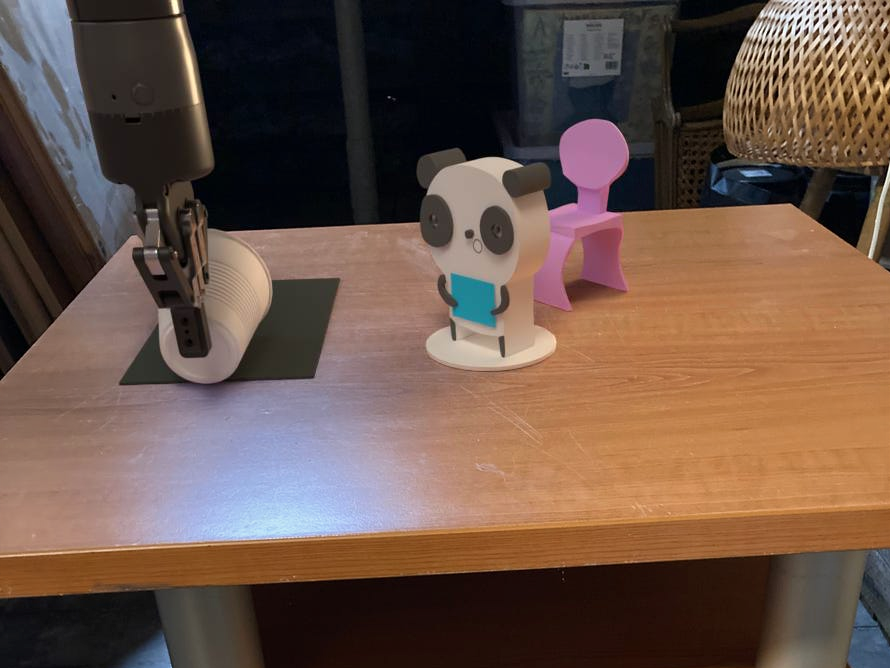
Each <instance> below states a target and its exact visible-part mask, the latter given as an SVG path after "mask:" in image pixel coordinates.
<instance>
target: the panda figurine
mask: <svg viewBox="0 0 890 668" xmlns="http://www.w3.org/2000/svg"><path fill="white" fill-rule="evenodd" d="M416 178H417V181H418V183H419V185H420V186H421V187H422V188H423V189H427V191H426V192H427V193H426V195H425V196H424V197H423V198H422V202H421V206H420V211H419V212H420V213H419V227H420V228H419V229H420V234H421V237H422V239H423V241H424V242H425V243H426V244H427V248H428V250H429V252H430V254H431V256H432V258H433V260H434V262H435V264H436V266H437V267H438V268H439V270H440V271H441V273H443V274H440V275H439V277H438V279H437V282H436V283H437V285H436V286H437V290H438V293H439V295H440V297H441V299H442V300H443V302H444V303H445V304H446V305H448V313H449V325H448V326H445V327H443V328H441V329H438V330H436V331H434V332H433V333H432V334H431V335H430V336H429V337H428V338H427V339H426V342H425V351H426V354H427V356H429V357H430V358H431V359H432V360H433V361H435V362H437V363H439V364H441V365H444V366H447V367H450V368H453V369H458V370H466V371H475V372H499V371H510V370H516V369H517V370H518V369H521V368H526V367H530V366H533V365H536V364H538V363H540V362H543V361H545V360H547V359H548V358H549V357H551V356H552V355H553V354H554V353H555V352H556V349H557V338H556V337H555V335H554V333H552V332H551V331H550V330H548V329H546V328H545V327H543V326H539V325H537V324H535V319H534V318H535V316H534V315H535V314H534V309H535V308H534V307H535V306H534V302H535V300H534V274H535V273H536V272H538V271H539V269H540V268H541V267H542V265H543V263H544V261H545V259H546V257H547V253H548V250H549V245H550V220H549V213H548V211H549V209H548V204H547V199H546V196H545V193H544V190H548V189H550V187H551V185H552V175H551V170H550V168H549V166H548V165H547V164H546V163H545V162H542V161H539V162H534V163H530V164H527V165H522V164H521V163H519V162H516V161H514V160H511V159H507V158H504V157H498V156H487V157H481V158H477V159H473V160H469V161H467V159H466V155H465V154H464V153H463V151H462V150H461V149H460V148H459V147H455V148H450V149H445V150H441V151H437V152H433V153H429V154H424V155H423V156H420V158H419V159H418V161H417V165H416Z"/></svg>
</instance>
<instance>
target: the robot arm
mask: <svg viewBox="0 0 890 668" xmlns="http://www.w3.org/2000/svg"><path fill="white" fill-rule="evenodd" d="M65 4H66V8H67V13H68V18H69V19H70V26H71V32H72V40H73V49H74V50H73V51H74V59H75V64H76V70H77V74H78V78H79V82H80V86H81V91H82V95H83V99H84V104H85V108H86V111H87V115H88V121H89V124H90V128H91V133H92V137H93V141H94V147H95V150H96V155H97V158H98V163H99V167H100V171H101V174H102V177H104V179H105V180H107V182H110V183H112V184H116V185H120V186H121V185H126V186H128V187H130V189H132V190H133V193H134V203H135V210H133V211H132V221H133V225H134V229H135V233H136V236H137V237H138V239H139V240H140V241H141V243H142V246H136V247H135V246H134V247H133V248H132V252H131V258H132V261H133V264H134V266H135V268H136V269H137V271H138V273H139V275H140V277H141V278H142V281H143V282H144V284H145V286H146V288H147V289H148V292H149V294H150V295H151V297H152V299H153V301H154V302H155V304H156V306H157V309H158V308H159V309H164V308H166V309H170V312H171V317H172V321H173V326H174V331H175V335H176V340H177V345H178V349H179V353H180V355H181V356H182V357H184V358H204V357H206V356H207V355H208V354H209V352H210V350H211V348H212V342H211V337H210V332H209V326H208V321H207V316H206V311H205V306H204V302H202V301H205V300H206V295H207V292H206V289H205V285H207V284H209V279H210V276H209V266H208V233H207V229H208V217H209V213H208V210H207V208H206V206H205V204H202V203H201V201H200V199H195V195H194V188H193V186H192V182H191V181H194V180H195V181H196V180H198V179H201V178H203V177H206V176H208V175H209V174H211V172H212V171H213V170H214V167H215V155H214V151H213V144H212V137H211V133H210V128H209V127H210V126H209V121H208V115H207V110H206V105H205V99H204V92H203V88H202V87H203V86H202V81H201V75H200V70H199V69H200V68H199V63H198V58H197V53H196V50H195V46H194V42H193V39H192V36H191V33H190V29H189V25H188V21H187V17H186V14H185V8H184V2H183V0H65Z"/></svg>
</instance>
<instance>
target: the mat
mask: <svg viewBox="0 0 890 668" xmlns="http://www.w3.org/2000/svg"><path fill="white" fill-rule="evenodd" d="M340 280H341V277H327V278H326V277H323V278H321V277H319V278H296V279H295V278H294V279H293V278H291V279H288V278H287V279H271V281H272V300H271V304H270V307H269V309H268V312H267V314H266V315H265V317H264V318H263V319H262V321H261V322H260V323H259V324H258V326H257V328H256V330H255V332H254V334H253V336H252V338H251V340H250V342H249V344H248V346H247V348H246V350H245V352H244V354H243V357H242V359H241V361H240V363H239V365H238V367H237V368H236V370H235V371H234V372H233V373H232V374H231V375H230V376H229V377H228V378H226V379H224V380H222V381H221V382H237V381H238V382H239V381H241V382H242V381H266V380H267V381H269V380H295V379H296V380H298V379H314V378H315V375H316V371H317V367H318V364H319V361H320V356H321V352H322V349H323V345H324V341H325V337H326V333H327V329H328V326H329V322H330V318H331V314H332V311H333V307H334V304H335V299H336V295H337V293H338V292H337V291H338V288H339V286H340V285H339V284H340ZM151 331H152V332H150V334H149V336H148V338H147V339H146V340H145V342H144V344H143V345H142V346H141V348H140V350H139V351H138V353H137V354H136V355H135V357H134V359H133V360H132V362H131V364H130V365H129V366H128V368H127V369H126V371H125V373H124V374H123V375H122V377H121V378H120V380H119V382H118V385H120V386H123V385H124V386H125V385H150V384H155V385H156V384H180V383H182V384H183V383H193V382H192V381H189V380H186V379H184V378H183V377H181V376H179V375H178V374H176V373H175V372H174V371H173V370H172V369H171V368H170V367H169V366H168V365H167V363H166V362H165V360H164V359H163V356H162V354H161V350H160V342H159V321H158V322H157V324H156V325H155V327H154V329H153V330H151Z"/></svg>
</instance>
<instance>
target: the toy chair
mask: <svg viewBox="0 0 890 668" xmlns="http://www.w3.org/2000/svg"><path fill="white" fill-rule="evenodd" d="M558 150H559V159H560V165H561V168H562V174H563V175H564V176H565V177H566V178H567V179H568V180H569V181H570V182H571V183H573V184H574V185H575V186H576V187H577V203H575V202H572V203H568V204H565V205H562V206H559V207H556V208H554V209H550V210H548V213H549V220H550V245H549V250H548V253H547V257H546V259H545V261H544V263H543V265H542V267H541V268H540V269H539V271H538V272H536V273H535V274H534V301H536V302H540V303H542V304H546V305H548V306H551V307H555V308H558V309H561V310H564V311H567V312H572V311H573V307H572V306H571V303H570V301H569V297H568V295H567V293H566V289H565V285H564V277H563V276H564V268H565V265H566V262H567V260H568V257H569V256H570V254H571V252H572V249H573V247H574V245H575V243H576V242H578V240H581V245H582V250H583V253H582V254H583V256H582V257H583V258H582V265H581V271H580V279H582V280H585V281H589V282H593V283H596V284H598V285H603V286H605V287H608V288H612V289H615V290H619V291H622V292H629V291H630V289H629V286H628V283H627V281H626V278H625V275H624V272H623V268H622V264H621V256H620V255H621V249H622V248H621V247H622V243H623V239H624V236H625V235H624V234H625V228H624V225H623V218H624V217H623V214H621V213H617V212H612V211H607V207H608V200H609V192H610V186H611V185H612V184H613V182H614V181H615V180H617V179H619V178H620V176H622V175H623V174H624V172H625V171H626V170H627V167H628V166H629V161H630V151H629V147H628V144H627V141H626V139H625V136H624V135H623V134H622V132H621V131H620V130H619V128H618V127H617V125H616V124H614V123H613V122H612V121H609V120H606V119H601V118H592V119H586V120H582V121H580V122H578V123H575V124H574V125H572V126H570V127H569V128H567V129H566V131H564V132H563V134H562V135H561V136H560V140H559V149H558Z"/></svg>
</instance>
